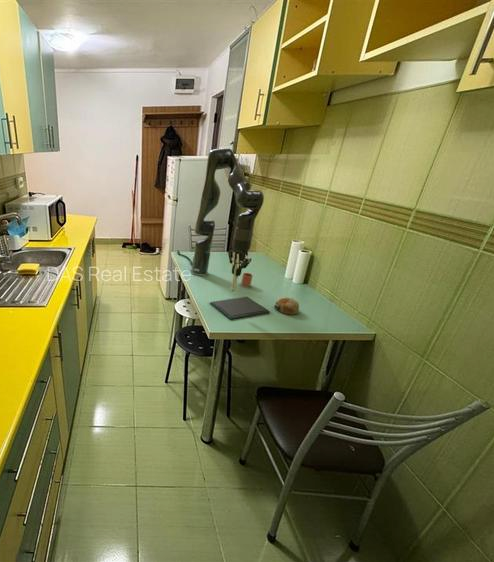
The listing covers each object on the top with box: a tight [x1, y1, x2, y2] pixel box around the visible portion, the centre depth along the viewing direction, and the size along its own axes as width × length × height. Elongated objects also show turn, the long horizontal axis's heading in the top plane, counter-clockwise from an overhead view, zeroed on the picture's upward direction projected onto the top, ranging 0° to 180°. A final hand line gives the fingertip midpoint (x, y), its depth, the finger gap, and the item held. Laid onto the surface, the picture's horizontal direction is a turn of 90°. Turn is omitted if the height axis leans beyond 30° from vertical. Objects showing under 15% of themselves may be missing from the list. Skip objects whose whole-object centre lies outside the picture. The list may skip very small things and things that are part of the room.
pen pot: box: [240, 272, 254, 288], centre depth 170 cm, size 5×5×7 cm
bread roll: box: [274, 297, 300, 316], centre depth 145 cm, size 10×10×8 cm
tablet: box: [209, 296, 271, 320], centre depth 147 cm, size 16×22×1 cm
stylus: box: [230, 264, 239, 292], centre depth 139 cm, size 2×2×13 cm
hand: (235, 274), depth 138 cm, fingers closed on stylus, 2 cm apart
